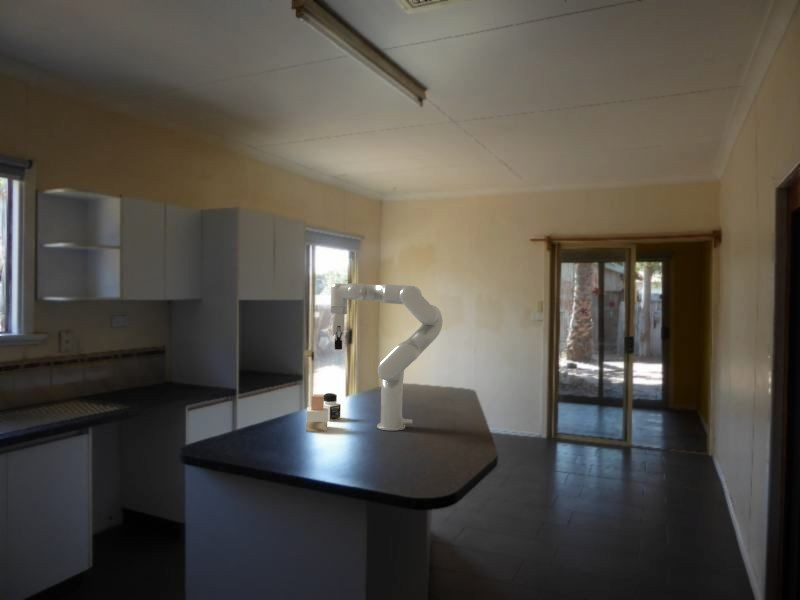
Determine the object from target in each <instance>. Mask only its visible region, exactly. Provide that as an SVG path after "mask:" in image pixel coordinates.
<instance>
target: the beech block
mask: <svg viewBox="0 0 800 600" xmlns="http://www.w3.org/2000/svg"><path fill="white" fill-rule="evenodd" d="M327 431H328V422H307V418H306V419H305V432H306V433H317V432H319V433H323V432H325V433H327Z"/></svg>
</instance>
